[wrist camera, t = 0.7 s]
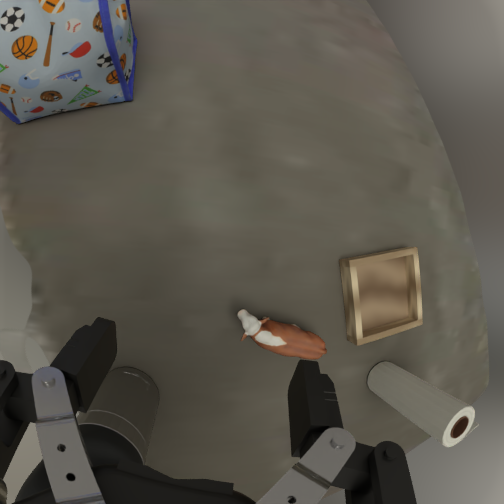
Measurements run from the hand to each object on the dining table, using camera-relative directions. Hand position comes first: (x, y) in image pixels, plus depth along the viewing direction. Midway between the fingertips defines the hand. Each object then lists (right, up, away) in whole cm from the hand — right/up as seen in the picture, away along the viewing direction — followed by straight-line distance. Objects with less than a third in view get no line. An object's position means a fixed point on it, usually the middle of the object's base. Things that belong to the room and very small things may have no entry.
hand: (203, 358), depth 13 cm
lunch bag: (-27, +34, +28) cm, 51 cm away
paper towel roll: (+25, -18, +36) cm, 47 cm away
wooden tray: (+23, -2, +36) cm, 42 cm away
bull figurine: (+5, -7, +33) cm, 34 cm away
